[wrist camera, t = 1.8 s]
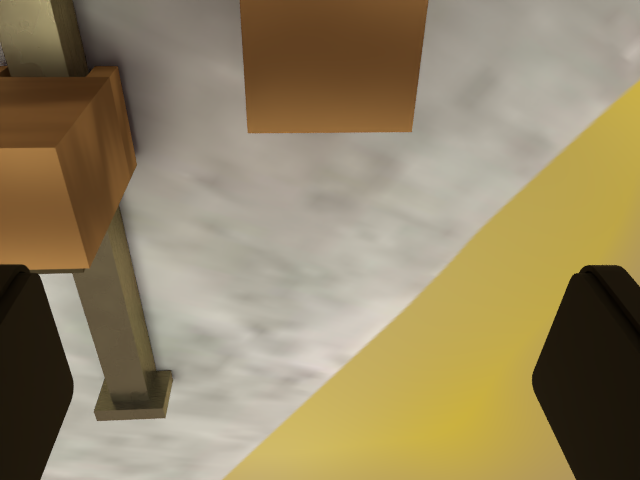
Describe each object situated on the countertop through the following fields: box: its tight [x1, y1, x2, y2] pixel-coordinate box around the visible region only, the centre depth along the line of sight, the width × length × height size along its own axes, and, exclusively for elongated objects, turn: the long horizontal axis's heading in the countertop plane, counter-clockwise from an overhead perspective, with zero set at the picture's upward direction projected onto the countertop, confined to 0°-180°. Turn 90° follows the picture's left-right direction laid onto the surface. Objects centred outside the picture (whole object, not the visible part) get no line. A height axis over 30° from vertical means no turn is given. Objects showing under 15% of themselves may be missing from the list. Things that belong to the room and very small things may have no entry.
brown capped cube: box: [240, 0, 428, 133], centre depth 21 cm, size 6×6×8 cm
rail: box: [0, 0, 173, 421], centre depth 29 cm, size 28×4×3 cm, turn 179°
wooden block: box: [0, 66, 137, 274], centre depth 22 cm, size 6×6×8 cm
